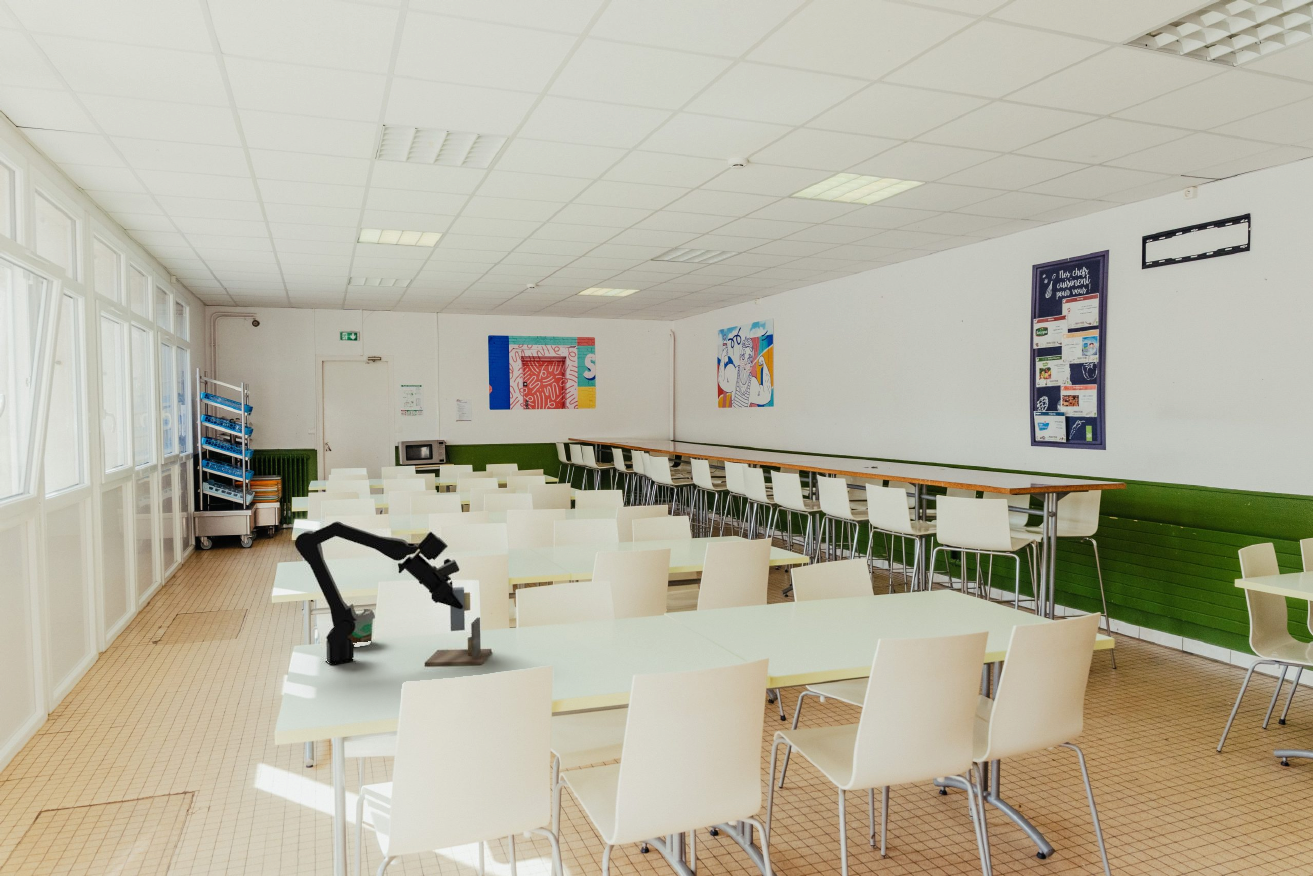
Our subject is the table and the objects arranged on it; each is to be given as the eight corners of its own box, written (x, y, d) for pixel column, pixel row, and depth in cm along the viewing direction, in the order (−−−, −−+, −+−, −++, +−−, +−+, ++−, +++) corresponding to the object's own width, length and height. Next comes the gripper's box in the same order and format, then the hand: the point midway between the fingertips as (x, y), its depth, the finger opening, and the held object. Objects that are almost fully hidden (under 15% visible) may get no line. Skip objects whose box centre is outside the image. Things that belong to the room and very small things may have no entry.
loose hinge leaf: (450, 631, 242) (450, 590, 242) (450, 627, 247) (450, 587, 247) (470, 629, 243) (470, 589, 244) (470, 626, 248) (469, 586, 248)
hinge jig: (424, 666, 229) (423, 626, 230) (437, 653, 243) (437, 616, 244) (481, 664, 230) (480, 625, 230) (491, 652, 244) (490, 615, 244)
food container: (361, 650, 250) (361, 617, 250) (343, 649, 251) (342, 616, 251) (383, 640, 262) (382, 609, 262) (365, 639, 263) (365, 608, 263)
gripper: (443, 555, 235) (482, 591, 238) (442, 547, 253) (479, 581, 256) (414, 584, 233) (455, 620, 236) (416, 574, 251) (454, 608, 254)
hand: (462, 606), depth 245 cm, fingers closed on loose hinge leaf, 5 cm apart
